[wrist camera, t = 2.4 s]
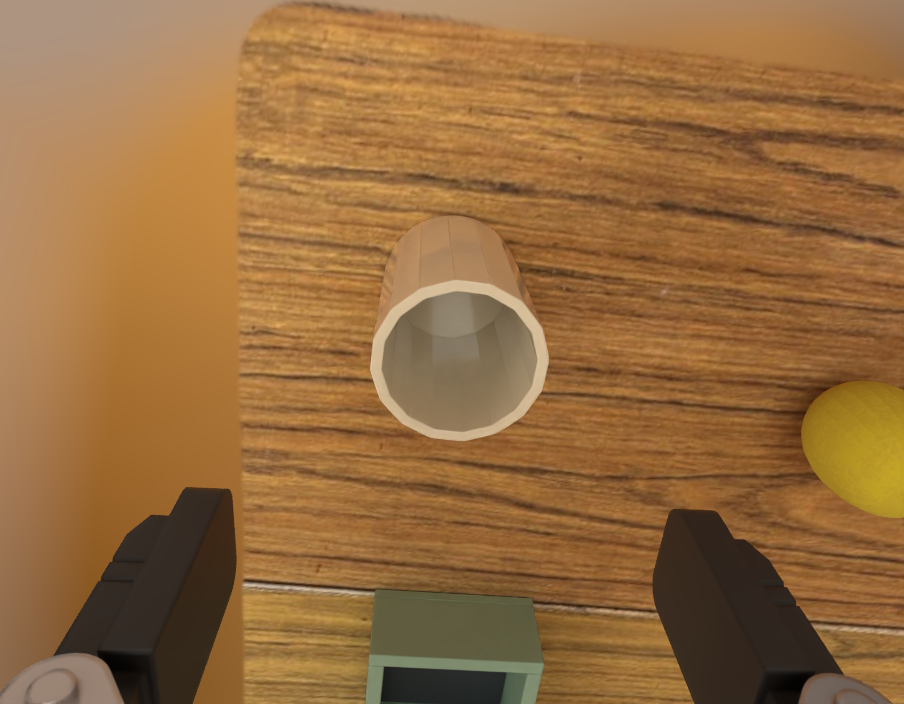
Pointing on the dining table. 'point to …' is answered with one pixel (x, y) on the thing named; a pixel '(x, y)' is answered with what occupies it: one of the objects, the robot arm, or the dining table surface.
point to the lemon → (859, 444)
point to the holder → (453, 649)
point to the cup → (456, 332)
